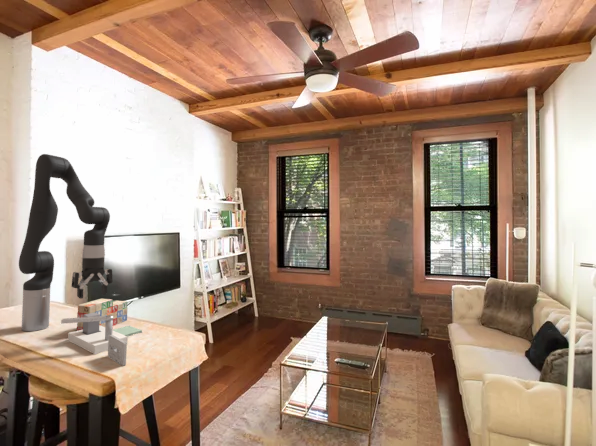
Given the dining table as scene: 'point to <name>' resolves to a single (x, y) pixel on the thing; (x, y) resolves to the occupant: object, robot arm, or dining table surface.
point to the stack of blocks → (103, 310)
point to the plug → (91, 324)
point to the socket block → (95, 338)
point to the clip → (87, 319)
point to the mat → (128, 330)
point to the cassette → (117, 350)
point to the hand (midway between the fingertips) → (92, 296)
